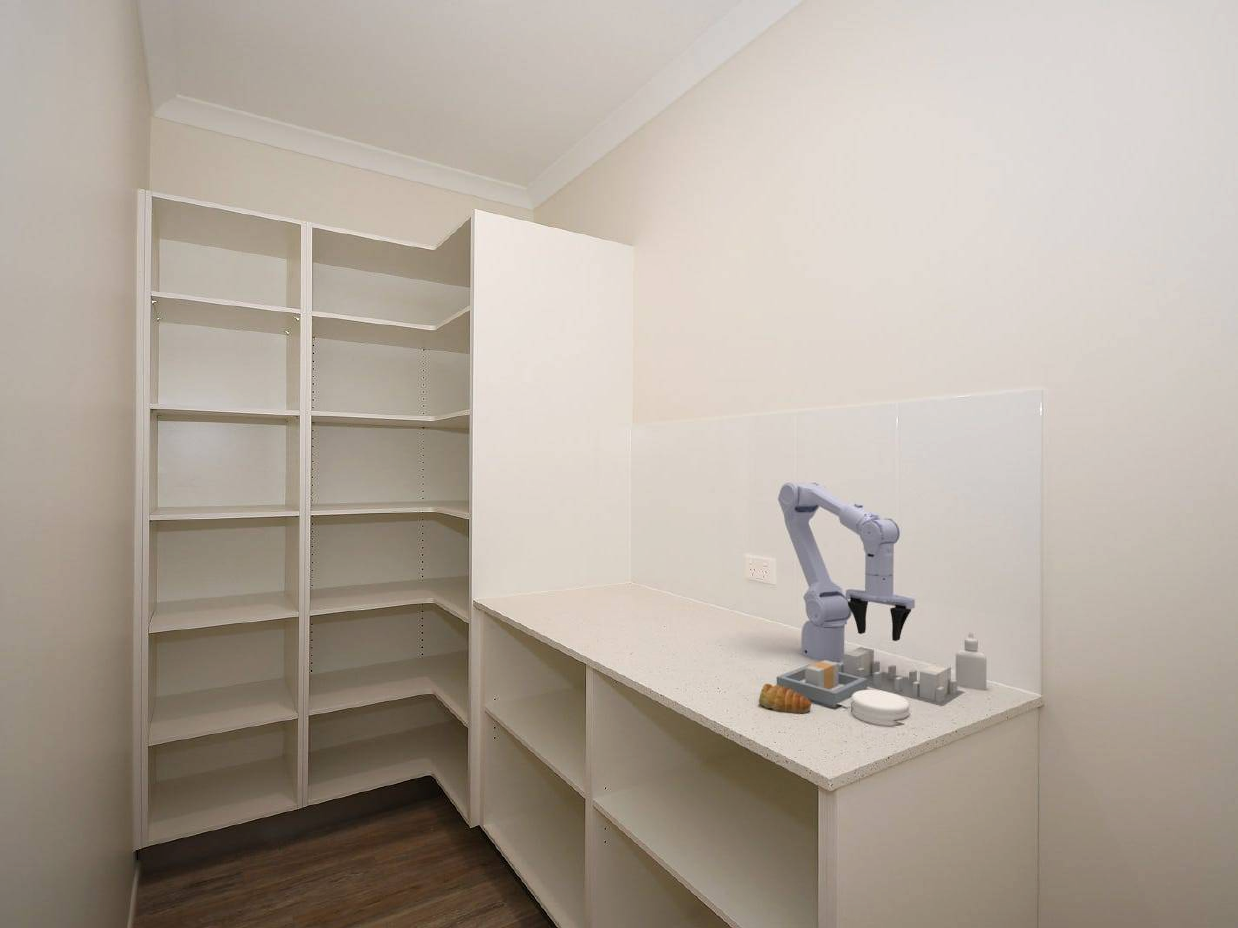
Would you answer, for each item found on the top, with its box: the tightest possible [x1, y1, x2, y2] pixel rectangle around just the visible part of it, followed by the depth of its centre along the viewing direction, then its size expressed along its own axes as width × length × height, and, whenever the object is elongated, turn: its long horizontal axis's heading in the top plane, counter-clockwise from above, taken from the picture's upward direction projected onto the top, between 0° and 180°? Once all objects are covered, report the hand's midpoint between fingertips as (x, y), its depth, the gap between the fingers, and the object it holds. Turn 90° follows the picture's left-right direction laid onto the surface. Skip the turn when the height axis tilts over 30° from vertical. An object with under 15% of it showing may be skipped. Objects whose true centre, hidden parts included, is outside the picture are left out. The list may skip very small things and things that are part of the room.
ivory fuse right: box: [919, 663, 952, 701], centre depth 127 cm, size 3×8×5 cm, turn 133°
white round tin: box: [850, 689, 911, 727], centre depth 118 cm, size 10×10×4 cm
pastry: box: [758, 683, 812, 714], centre depth 122 cm, size 9×7×4 cm
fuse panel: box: [838, 660, 965, 707], centre depth 133 cm, size 23×12×4 cm, turn 43°
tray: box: [776, 664, 868, 710], centre depth 130 cm, size 13×13×3 cm
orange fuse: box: [804, 660, 840, 690], centre depth 130 cm, size 3×8×5 cm, turn 133°
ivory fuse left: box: [842, 646, 875, 676], centre depth 139 cm, size 3×8×5 cm, turn 133°
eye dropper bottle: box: [955, 632, 988, 691], centre depth 132 cm, size 4×6×12 cm
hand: (878, 636), depth 139 cm, fingers open, 7 cm apart
